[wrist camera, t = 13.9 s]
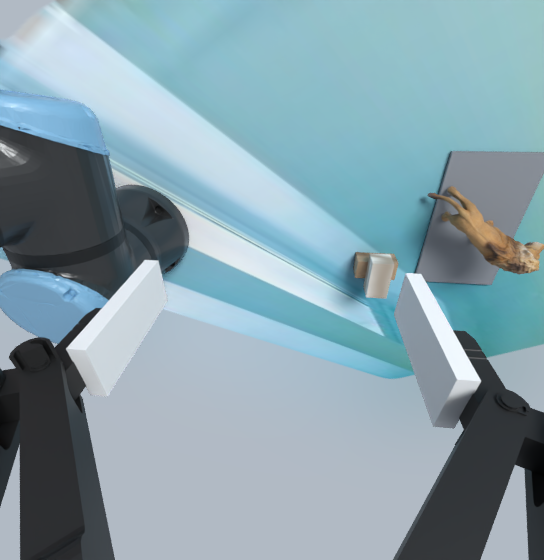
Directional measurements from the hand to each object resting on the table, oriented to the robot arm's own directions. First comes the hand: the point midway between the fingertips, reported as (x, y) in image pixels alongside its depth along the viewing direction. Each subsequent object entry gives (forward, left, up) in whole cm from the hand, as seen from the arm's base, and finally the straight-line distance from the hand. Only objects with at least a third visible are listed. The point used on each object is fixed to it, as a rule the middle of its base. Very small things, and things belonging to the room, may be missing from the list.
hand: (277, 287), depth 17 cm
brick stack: (+13, -16, -32) cm, 38 cm away
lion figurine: (+25, -8, -31) cm, 41 cm away
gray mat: (+26, -9, -31) cm, 42 cm away
